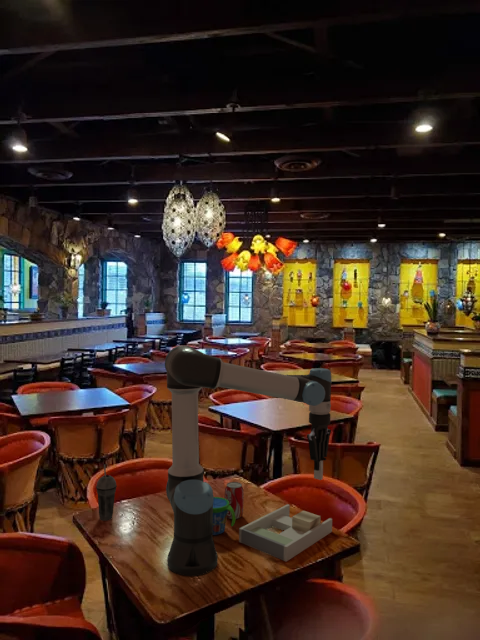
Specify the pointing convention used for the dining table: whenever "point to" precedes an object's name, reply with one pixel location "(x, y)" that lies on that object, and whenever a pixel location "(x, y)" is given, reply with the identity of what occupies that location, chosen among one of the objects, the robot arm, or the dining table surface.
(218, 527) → the snack cup
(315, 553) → the dining table surface
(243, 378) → the robot arm
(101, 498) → the beverage cup
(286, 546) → the trap box
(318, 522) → the beech block
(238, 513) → the soda can
